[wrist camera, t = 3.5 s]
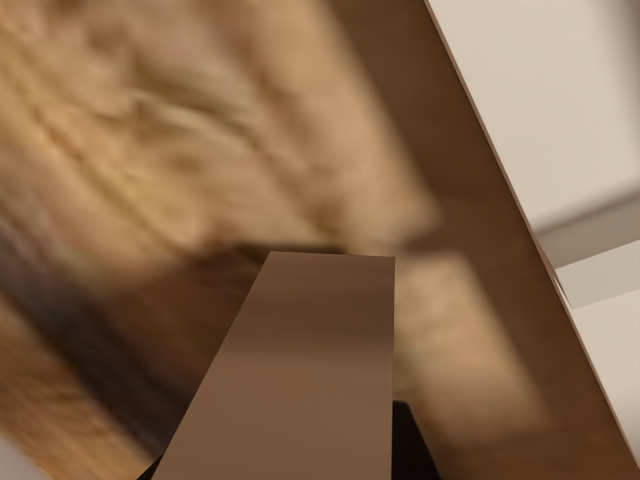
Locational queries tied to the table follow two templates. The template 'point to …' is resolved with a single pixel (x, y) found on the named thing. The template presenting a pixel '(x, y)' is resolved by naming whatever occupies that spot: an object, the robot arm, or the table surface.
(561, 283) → the white tray base
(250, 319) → the tall taupe pillar block
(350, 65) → the table surface
